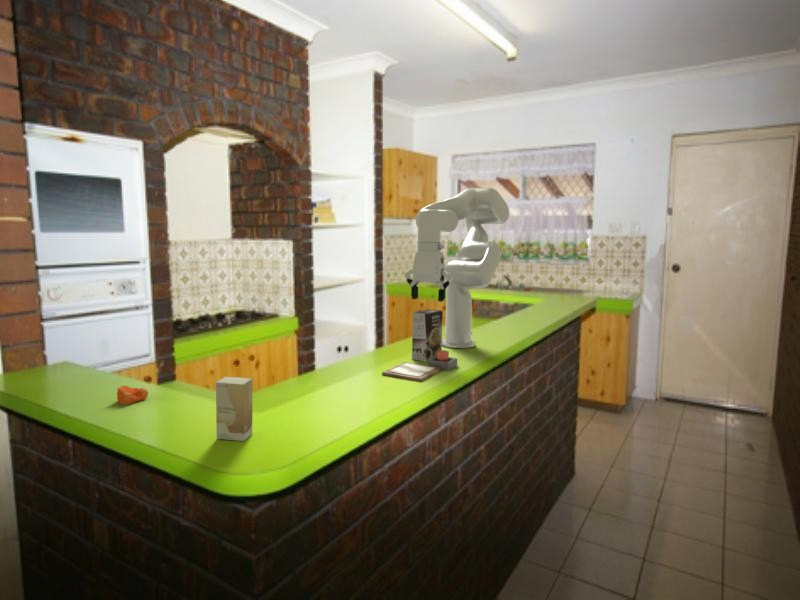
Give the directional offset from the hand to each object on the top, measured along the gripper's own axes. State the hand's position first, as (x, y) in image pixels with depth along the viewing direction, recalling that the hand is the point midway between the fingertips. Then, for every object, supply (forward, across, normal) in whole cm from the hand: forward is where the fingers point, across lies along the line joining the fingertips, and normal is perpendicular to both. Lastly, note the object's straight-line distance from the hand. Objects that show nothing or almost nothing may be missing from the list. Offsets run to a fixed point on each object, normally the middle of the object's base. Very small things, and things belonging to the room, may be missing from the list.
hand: (427, 299), depth 174 cm
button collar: (+20, -9, +7) cm, 23 cm away
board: (+20, -4, +18) cm, 27 cm away
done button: (+18, -9, +7) cm, 21 cm away
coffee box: (+20, 0, 0) cm, 20 cm away
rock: (+21, +44, +77) cm, 91 cm away
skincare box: (+20, +5, +80) cm, 82 cm away
